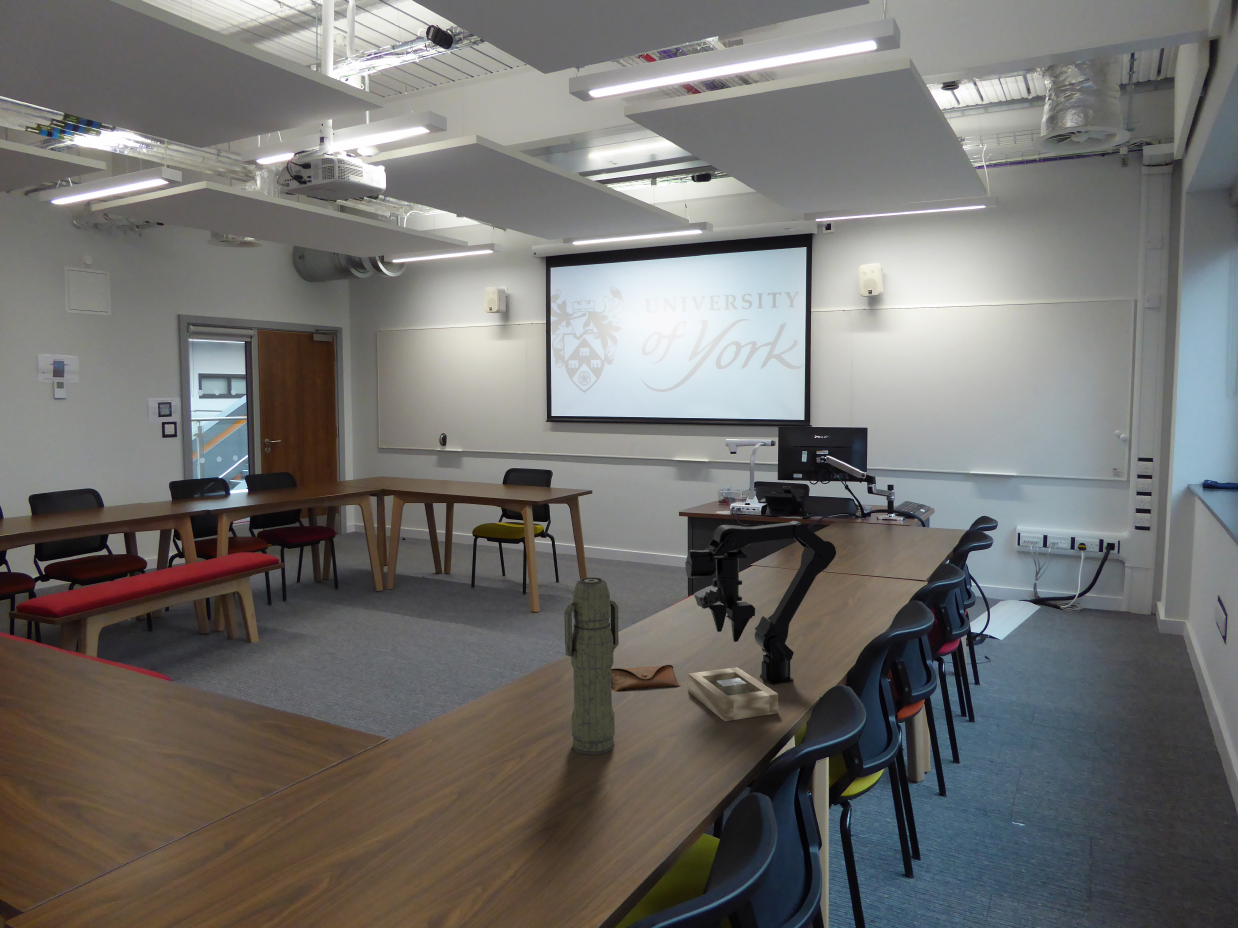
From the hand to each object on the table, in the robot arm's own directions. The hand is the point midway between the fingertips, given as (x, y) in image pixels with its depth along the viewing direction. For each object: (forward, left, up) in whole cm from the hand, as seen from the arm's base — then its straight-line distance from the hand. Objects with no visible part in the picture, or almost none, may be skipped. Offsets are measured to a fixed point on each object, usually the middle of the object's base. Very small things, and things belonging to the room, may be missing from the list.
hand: (727, 636), depth 202 cm
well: (+5, +12, -12) cm, 18 cm away
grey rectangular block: (+5, +12, -12) cm, 17 cm away
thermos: (+43, +24, -12) cm, 51 cm away
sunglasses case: (+20, -7, -13) cm, 25 cm away
